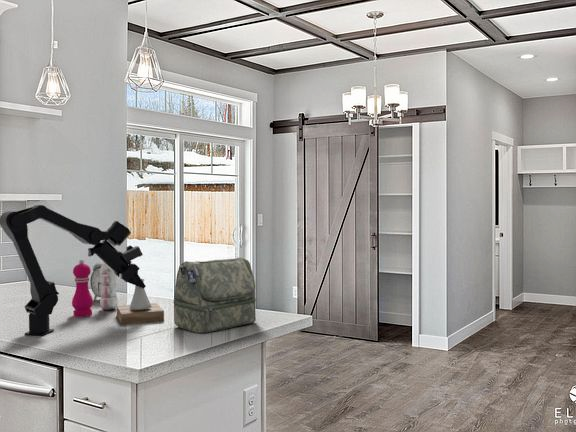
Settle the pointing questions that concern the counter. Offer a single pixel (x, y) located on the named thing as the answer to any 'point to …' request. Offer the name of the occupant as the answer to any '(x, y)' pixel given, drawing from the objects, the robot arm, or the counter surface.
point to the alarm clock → (96, 280)
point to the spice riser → (140, 314)
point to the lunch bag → (214, 295)
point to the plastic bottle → (108, 288)
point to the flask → (140, 299)
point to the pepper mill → (82, 291)
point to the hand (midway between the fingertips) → (143, 286)
